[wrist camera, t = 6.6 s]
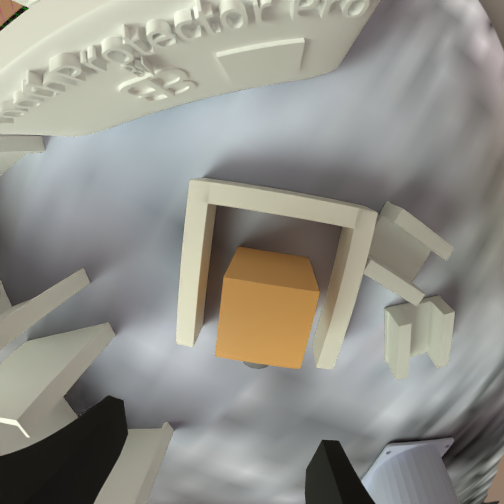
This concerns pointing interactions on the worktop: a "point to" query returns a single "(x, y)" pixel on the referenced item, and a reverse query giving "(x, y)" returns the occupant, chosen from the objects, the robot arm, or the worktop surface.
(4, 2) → the house
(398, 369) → the clip
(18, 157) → the white slotted rack
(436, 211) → the worktop surface
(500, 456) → the worktop surface
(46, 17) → the cable organizer
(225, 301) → the orange block
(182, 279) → the frame
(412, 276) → the clip
